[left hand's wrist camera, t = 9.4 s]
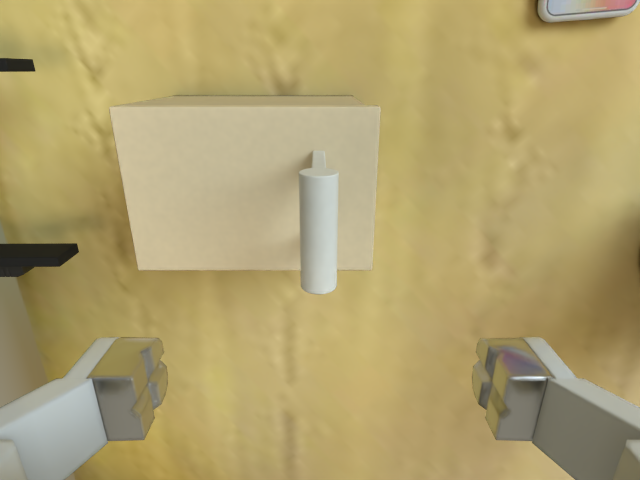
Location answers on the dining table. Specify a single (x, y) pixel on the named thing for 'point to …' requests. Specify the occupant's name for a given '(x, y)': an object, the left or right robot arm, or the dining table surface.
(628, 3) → the smartphone
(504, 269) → the dining table surface
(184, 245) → the lid
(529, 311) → the dining table surface
